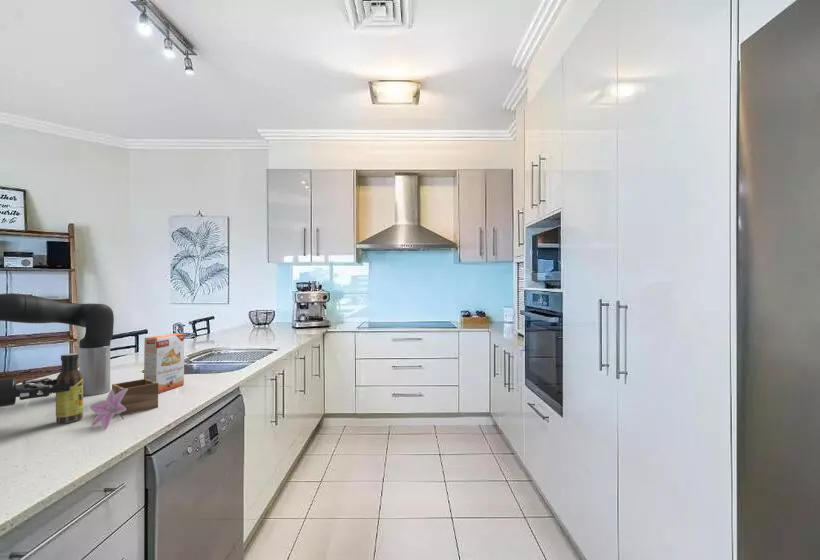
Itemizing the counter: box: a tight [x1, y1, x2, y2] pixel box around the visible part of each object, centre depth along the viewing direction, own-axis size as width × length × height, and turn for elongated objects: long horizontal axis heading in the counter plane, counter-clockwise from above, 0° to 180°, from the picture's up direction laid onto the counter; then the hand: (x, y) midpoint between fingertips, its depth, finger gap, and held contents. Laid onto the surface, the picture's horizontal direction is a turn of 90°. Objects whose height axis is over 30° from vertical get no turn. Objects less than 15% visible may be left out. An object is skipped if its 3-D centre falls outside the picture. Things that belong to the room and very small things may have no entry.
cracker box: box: [143, 333, 186, 394], centre depth 156 cm, size 14×6×21 cm, turn 168°
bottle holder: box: [111, 378, 159, 416], centre depth 133 cm, size 10×10×8 cm
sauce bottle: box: [55, 352, 84, 424], centre depth 121 cm, size 6×6×20 cm
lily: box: [89, 388, 128, 430], centre depth 119 cm, size 12×12×10 cm
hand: (69, 384), depth 121 cm, fingers open, 8 cm apart
